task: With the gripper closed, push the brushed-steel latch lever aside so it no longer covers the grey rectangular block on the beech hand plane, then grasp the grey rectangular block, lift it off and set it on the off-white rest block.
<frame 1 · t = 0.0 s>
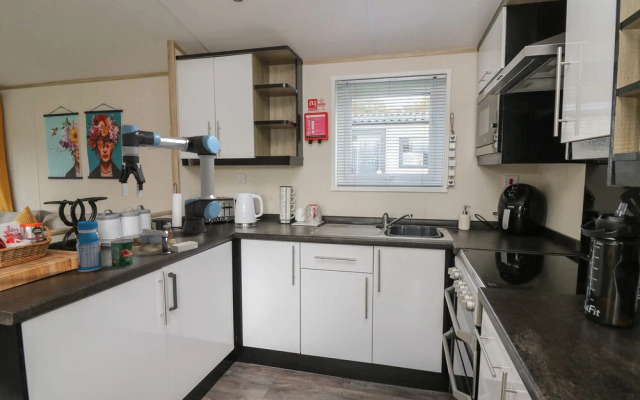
hand: (132, 196, 169), 28 cm above the countertop, tool pointing down, fingers open, 13 cm apart
rest block: (184, 249, 171), on the countertop
grey rectangular block: (153, 242, 169), point 4 cm above the countertop, touching hand plane
hand plane: (154, 249, 170), on the countertop
canned tomato: (122, 266, 140), on the countertop
latch lever: (155, 232, 165), point 10 cm above the countertop, hinge at 0.0°
beverage bottle: (89, 269, 134), on the countertop
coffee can: (162, 243, 186), on the countertop
lever post: (165, 253, 162), on the countertop
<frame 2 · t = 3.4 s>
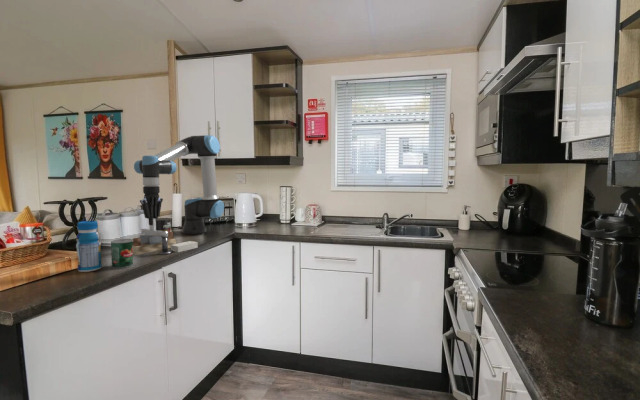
hand: (152, 230, 168), 10 cm above the countertop, tool pointing down, fingers closed
latch lever: (154, 232, 165), point 10 cm above the countertop, hinge at 1.9°, touching gripper
everything else where it was.
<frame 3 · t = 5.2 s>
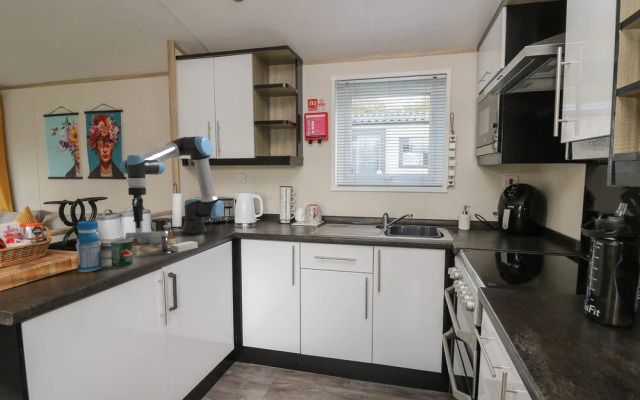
hand: (139, 234, 160), 10 cm above the countertop, tool pointing down, fingers closed
latch lever: (147, 234, 159), point 10 cm above the countertop, hinge at 44.8°, touching gripper
everything else where it was.
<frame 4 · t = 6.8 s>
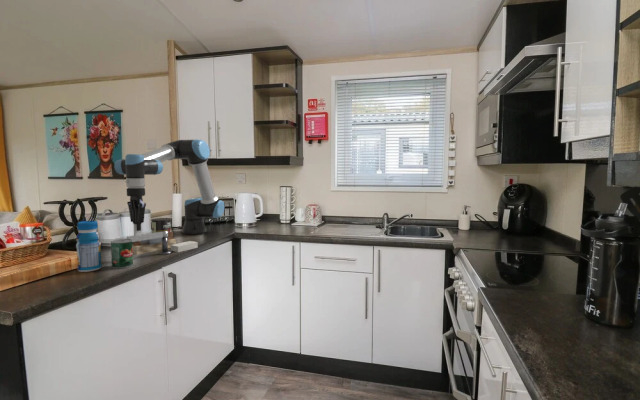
hand: (137, 237, 153), 10 cm above the countertop, tool pointing down, fingers closed
latch lever: (148, 236, 155), point 10 cm above the countertop, hinge at 82.2°, touching gripper
everything else where it was.
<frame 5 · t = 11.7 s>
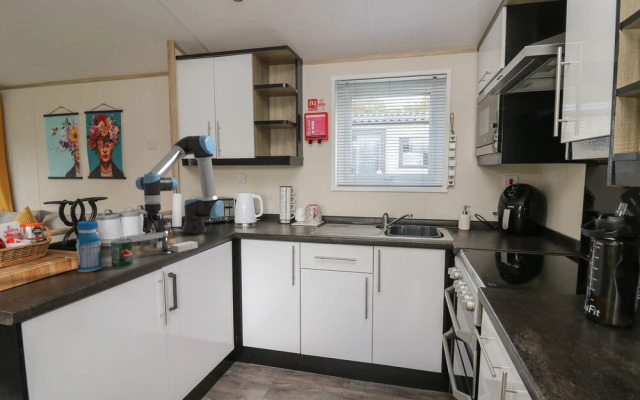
hand: (154, 246, 170), 2 cm above the countertop, tool pointing down, fingers closed on grey rectangular block, 8 cm apart
grey rectangular block: (153, 242, 169), point 4 cm above the countertop, touching gripper, hand plane
latch lever: (148, 236, 155), point 10 cm above the countertop, hinge at 82.9°
everything else where it was.
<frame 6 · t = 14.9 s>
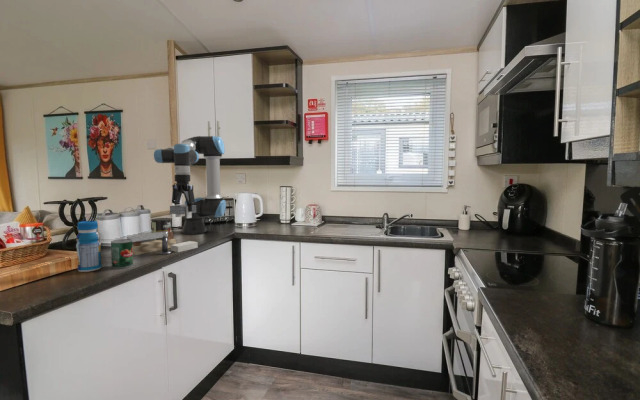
hand: (183, 217, 170), 17 cm above the countertop, tool pointing down, fingers closed on grey rectangular block, 8 cm apart
grey rectangular block: (183, 213, 170), point 19 cm above the countertop, touching gripper
everything else where it was.
when the fingers open (3 cm above the countertop, at t = 17.9 s): grey rectangular block drops 2 cm, resting on rest block.
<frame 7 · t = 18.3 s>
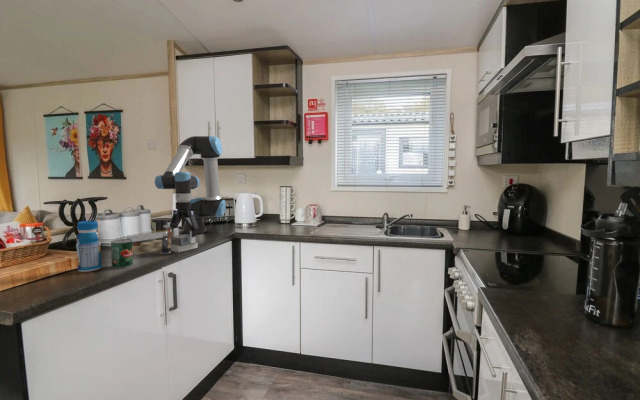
hand: (184, 241, 171), 4 cm above the countertop, tool pointing down, fingers open, 13 cm apart
grey rectangular block: (184, 243, 171), point 3 cm above the countertop, touching rest block
everything else where it was.
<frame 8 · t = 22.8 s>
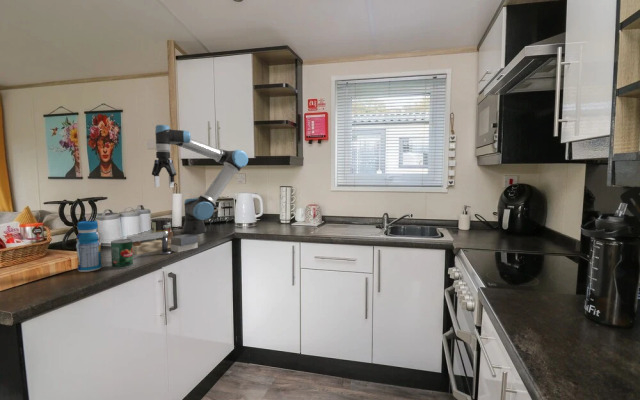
hand: (164, 187, 194), 32 cm above the countertop, tool pointing down, fingers open, 13 cm apart
nothing on the countertop moved.
at the end: latch lever at +83° (first picture: +0°); grey rectangular block 0.0 cm off-centre on the rest block, point 3.0 cm above the rest block's base; grey rectangular block tilted 0° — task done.
